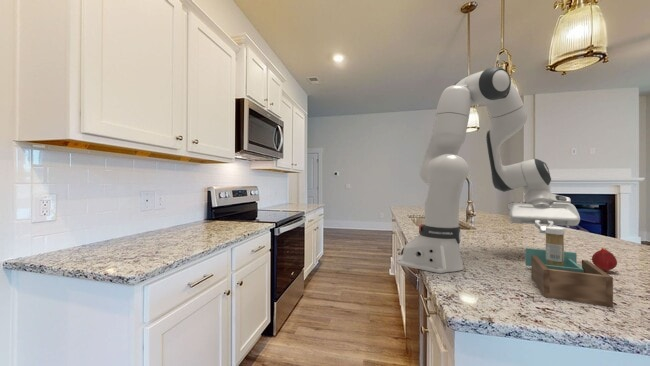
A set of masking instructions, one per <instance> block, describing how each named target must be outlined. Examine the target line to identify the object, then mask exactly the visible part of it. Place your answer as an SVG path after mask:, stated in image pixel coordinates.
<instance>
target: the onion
mask: <svg viewBox="0 0 650 366" xmlns="http://www.w3.org/2000/svg"><path fill="white" fill-rule="evenodd" d="M591 263H592V264H594V265H595V266H597V267H598V268H599V269H601V270H602V271H604V272H605V273H607V272H609V271H611V270H613V269H615V268H616V267H617V264H618V261H617V258H616V256H615V255H614V254H613V253H612V252H610V251H609V250H607V249H606V247H605V246H604V247H601V249H600V250H597V251H595V252H594V254H592V257H591Z"/></svg>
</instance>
